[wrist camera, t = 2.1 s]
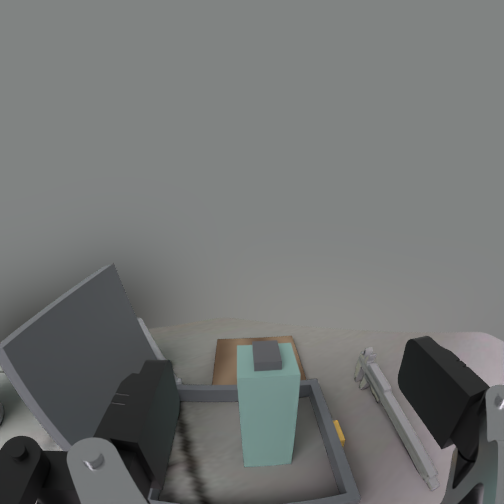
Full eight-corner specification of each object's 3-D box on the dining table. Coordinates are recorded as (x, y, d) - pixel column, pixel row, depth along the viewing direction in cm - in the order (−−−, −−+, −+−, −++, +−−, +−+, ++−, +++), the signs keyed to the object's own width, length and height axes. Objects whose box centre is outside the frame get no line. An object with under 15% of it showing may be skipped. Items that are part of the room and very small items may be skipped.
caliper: (352, 381, 34) (359, 342, 33) (359, 379, 34) (367, 341, 33) (429, 492, 14) (458, 456, 13) (438, 487, 14) (467, 450, 13)
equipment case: (88, 500, 14) (-11, 344, 10) (135, 387, 33) (106, 261, 29) (362, 505, 15) (435, 344, 11) (318, 385, 34) (328, 252, 30)
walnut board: (212, 391, 33) (211, 385, 33) (218, 344, 45) (217, 339, 45) (306, 386, 34) (306, 380, 33) (291, 340, 45) (291, 335, 45)
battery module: (244, 466, 22) (236, 369, 19) (243, 435, 26) (236, 337, 23) (291, 463, 22) (301, 365, 19) (285, 432, 26) (291, 334, 23)
